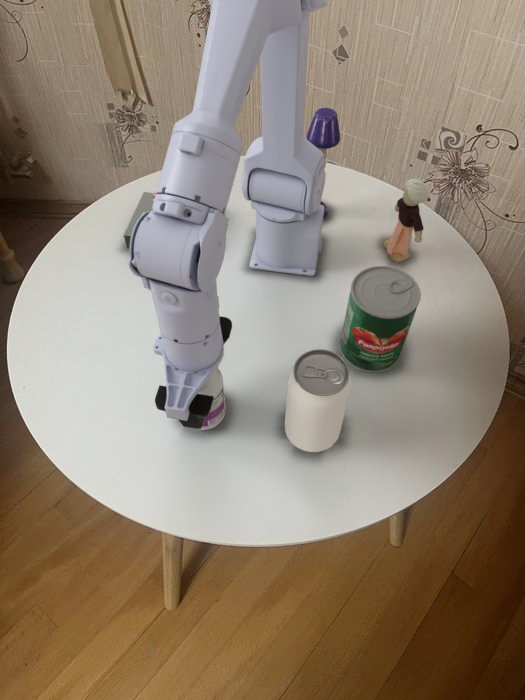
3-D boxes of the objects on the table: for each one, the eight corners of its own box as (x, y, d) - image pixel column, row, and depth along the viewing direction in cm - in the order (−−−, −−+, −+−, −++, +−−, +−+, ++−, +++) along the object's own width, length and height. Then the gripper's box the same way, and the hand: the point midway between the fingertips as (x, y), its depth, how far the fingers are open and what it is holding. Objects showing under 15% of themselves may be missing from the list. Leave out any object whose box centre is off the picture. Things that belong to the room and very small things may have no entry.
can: (336, 458, 64) (350, 404, 54) (279, 448, 65) (283, 392, 55) (342, 410, 68) (357, 351, 58) (289, 400, 68) (294, 340, 59)
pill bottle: (181, 394, 69) (171, 347, 61) (224, 391, 69) (220, 344, 61) (181, 433, 66) (170, 389, 58) (226, 430, 66) (222, 386, 58)
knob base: (214, 212, 88) (213, 199, 86) (199, 257, 82) (197, 244, 80) (146, 204, 89) (143, 190, 87) (126, 248, 83) (123, 234, 81)
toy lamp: (300, 201, 90) (308, 102, 76) (330, 202, 90) (343, 103, 76) (300, 221, 87) (308, 122, 74) (330, 222, 87) (344, 124, 74)
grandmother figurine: (372, 241, 85) (388, 169, 74) (393, 233, 86) (412, 161, 75) (402, 274, 81) (423, 204, 70) (424, 266, 82) (448, 195, 71)
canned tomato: (359, 381, 70) (374, 326, 61) (328, 336, 74) (338, 277, 65) (412, 359, 72) (435, 303, 63) (379, 316, 76) (396, 257, 67)
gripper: (168, 260, 58) (182, 340, 69) (124, 377, 49) (148, 447, 60) (236, 269, 57) (239, 348, 68) (203, 389, 49) (212, 457, 60)
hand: (200, 395), depth 64 cm, fingers open, 7 cm apart
